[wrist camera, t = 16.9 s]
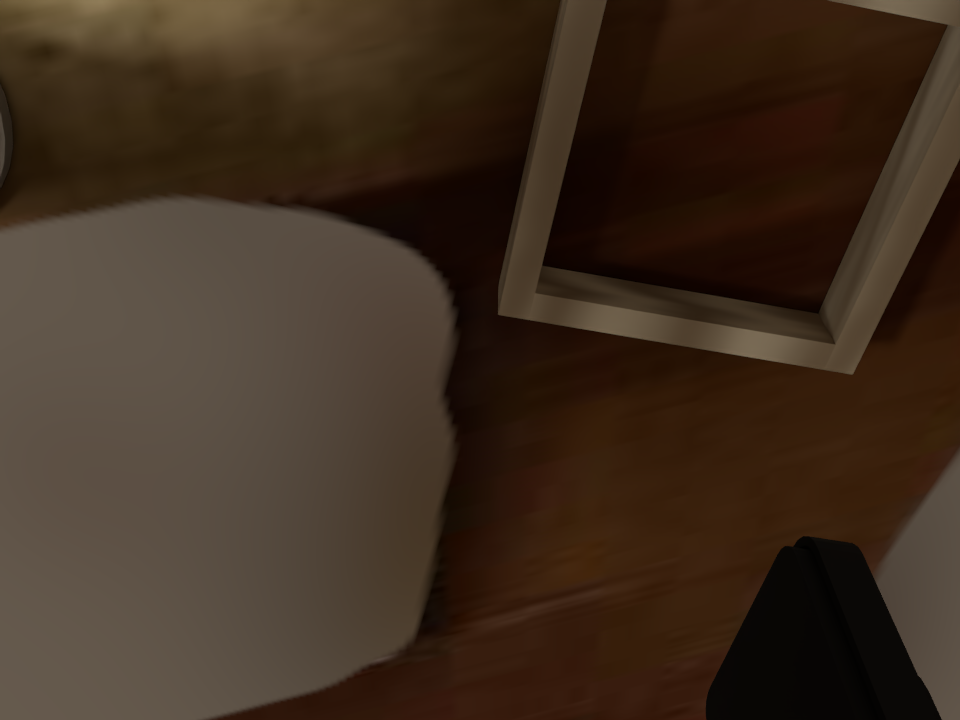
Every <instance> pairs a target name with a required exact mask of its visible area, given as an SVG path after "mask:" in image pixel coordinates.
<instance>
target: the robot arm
mask: <svg viewBox="0 0 960 720" xmlns="http://www.w3.org/2000/svg"><path fill="white" fill-rule="evenodd" d="M12 150H13V133H12V120H11V116H10V112H9V108H8V104H7V100H6V96H5V94H4V91H3V89H2V87H1V85H0V188H1V187H2V185H3V182H4V180H5V178H6V175H7V173H8V171H9V168H10V163H11V156H12ZM706 720H942V719H941V717H940V715H939V713H938V711H937V708H936V706H935V704H934V702H933V700H932V697H931V695H930V693H929V691H928V689H927V688H926V686H925V685H924V683H923V681H922V680H921V678H920V677H919V676H918V675H917V673H916V670H915V668H914V666H913V664H912V661H911V659H910V657H909V655H908V653H907V650H906V648H905V646H904V644H903V642H902V639H901V637H900V635H899V633H898V631H897V628H896V626H895V624H894V622H893V620H892V618H891V615H890V613H889V611H888V609H887V607H886V604H885V602H884V600H883V598H882V595H881V593H880V591H879V589H878V587H877V584H876V582H875V580H874V578H873V576H872V573H871V571H870V569H869V567H868V565H867V562H866V560H865V558H864V556H863V554H862V552H861V551H860V549H859V547H857V546H856V545H855V544H853V543H848V542H841V541H835V540H828V539H822V538H815V537H809V536H803V537H802V538H800V539H799V540H797V542H796V543H795V545H794V546H793V547H790V546H785V547H783V548H782V549H781V550H780V552H779V553H778V555H777V557H776V559H775V561H774V563H773V565H772V567H771V569H770V571H769V573H768V574H767V576H766V578H765V580H764V582H763V584H762V586H761V588H760V590H759V592H758V594H757V596H756V598H755V600H754V602H753V604H752V606H751V608H750V610H749V612H748V614H747V616H746V618H745V620H744V622H743V624H742V626H741V628H740V630H739V631H738V633H737V635H736V637H735V639H734V641H733V643H732V645H731V647H730V649H729V651H728V653H727V655H726V657H725V659H724V661H723V663H722V665H721V667H720V669H719V671H718V673H717V675H716V677H715V679H714V681H713V683H712V685H711V687H710V689H709V692H708V695H707V700H706Z"/></svg>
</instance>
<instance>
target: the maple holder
mask: <svg viewBox="0 0 960 720" xmlns="http://www.w3.org/2000/svg"><path fill="white" fill-rule="evenodd" d="M829 1H833V2H838V3H843V4H848V5H853V6H858V7H863V8H868V9H873V10H878V11H883V12H888V13H893V14H898V15H903V16H908V17H913V18H918V19H923V20H927V21H932V22H937V23H942V24H947V25H948V26H947V28H946V31H945V33H944V35H943V37H942V39H941V42H940V44H939V46H938V48H937V50H936V53H935V55H934V57H933V59H932V62H931V64H930V66H929V68H928V70H927V73H926V75H925V77H924V79H923V82H922V84H921V86H920V88H919V90H918V93H917V95H916V97H915V99H914V102H913V104H912V106H911V108H910V110H909V113H908V115H907V117H906V119H905V122H904V124H903V126H902V128H901V130H900V133H899V135H898V137H897V139H896V142H895V144H894V146H893V148H892V150H891V153H890V155H889V157H888V159H887V162H886V164H885V166H884V168H883V170H882V173H881V175H880V177H879V179H878V182H877V184H876V186H875V188H874V190H873V193H872V195H871V197H870V199H869V202H868V204H867V206H866V208H865V210H864V213H863V215H862V217H861V219H860V222H859V224H858V226H857V228H856V230H855V233H854V235H853V237H852V239H851V242H850V244H849V246H848V248H847V250H846V253H845V255H844V257H843V259H842V262H841V264H840V266H839V268H838V270H837V273H836V275H835V277H834V279H833V282H832V284H831V286H830V288H829V290H828V293H827V295H826V297H825V299H824V301H823V304H822V306H821V308H820V310H819V313H818V314H817V313H811V312H806V311H800V310H794V309H788V308H783V307H777V306H771V305H765V304H759V303H754V302H748V301H742V300H736V299H731V298H725V297H719V296H713V295H708V294H702V293H696V292H690V291H685V290H679V289H673V288H667V287H662V286H656V285H650V284H644V283H639V282H633V281H627V280H621V279H616V278H610V277H604V276H598V275H593V274H587V273H581V272H575V271H569V270H564V269H558V268H552V267H546V266H542V263H543V259H544V255H545V250H546V246H547V242H548V238H549V234H550V230H551V226H552V222H553V218H554V214H555V210H556V206H557V202H558V197H559V193H560V189H561V185H562V181H563V177H564V173H565V169H566V165H567V161H568V157H569V153H570V149H571V144H572V140H573V136H574V132H575V128H576V124H577V120H578V116H579V112H580V108H581V104H582V100H583V96H584V91H585V87H586V83H587V79H588V75H589V71H590V67H591V63H592V59H593V55H594V51H595V47H596V42H597V38H598V34H599V30H600V26H601V22H602V18H603V14H604V10H605V6H606V2H607V0H561V1H560V6H559V10H558V15H557V19H556V24H555V29H554V33H553V38H552V42H551V47H550V51H549V56H548V61H547V65H546V70H545V74H544V79H543V84H542V88H541V93H540V97H539V102H538V106H537V111H536V116H535V120H534V125H533V129H532V134H531V138H530V143H529V148H528V152H527V157H526V161H525V166H524V171H523V175H522V180H521V184H520V189H519V193H518V198H517V203H516V207H515V212H514V216H513V221H512V226H511V230H510V235H509V239H508V244H507V248H506V253H505V258H504V262H503V267H502V271H501V276H500V280H499V285H498V315H502V316H508V317H514V318H520V319H526V320H532V321H538V322H544V323H550V324H556V325H562V326H568V327H573V328H579V329H585V330H591V331H597V332H603V333H609V334H615V335H621V336H627V337H633V338H639V339H645V340H651V341H656V342H662V343H668V344H674V345H680V346H686V347H692V348H698V349H704V350H710V351H716V352H722V353H728V354H734V355H739V356H745V357H751V358H757V359H763V360H769V361H775V362H781V363H787V364H793V365H799V366H805V367H811V368H816V369H822V370H828V371H834V372H840V373H846V374H852V375H853V373H854V371H855V369H856V367H857V365H858V363H859V361H860V359H861V357H862V355H863V353H864V351H865V349H866V347H867V345H868V343H869V341H870V339H871V337H872V335H873V333H874V331H875V329H876V327H877V325H878V323H879V321H880V319H881V316H882V314H883V312H884V310H885V308H886V306H887V304H888V302H889V300H890V298H891V296H892V294H893V292H894V290H895V288H896V286H897V284H898V282H899V280H900V278H901V276H902V274H903V272H904V270H905V268H906V266H907V264H908V262H909V260H910V258H911V256H912V254H913V252H914V250H915V248H916V246H917V244H918V242H919V240H920V238H921V236H922V234H923V232H924V230H925V228H926V226H927V224H928V222H929V220H930V218H931V216H932V214H933V212H934V210H935V208H936V206H937V204H938V202H939V200H940V198H941V196H942V194H943V192H944V190H945V188H946V186H947V184H948V182H949V180H950V177H951V175H952V173H953V171H954V169H955V167H956V165H957V163H958V161H959V159H960V0H829Z"/></svg>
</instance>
